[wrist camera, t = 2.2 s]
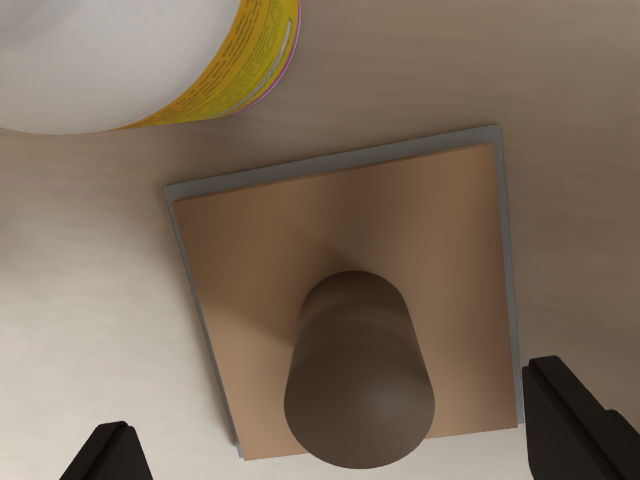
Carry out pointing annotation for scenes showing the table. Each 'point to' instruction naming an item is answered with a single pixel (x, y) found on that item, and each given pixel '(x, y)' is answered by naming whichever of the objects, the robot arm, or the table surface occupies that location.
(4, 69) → the supplement bottle
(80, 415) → the table surface
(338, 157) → the mat
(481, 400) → the lid
